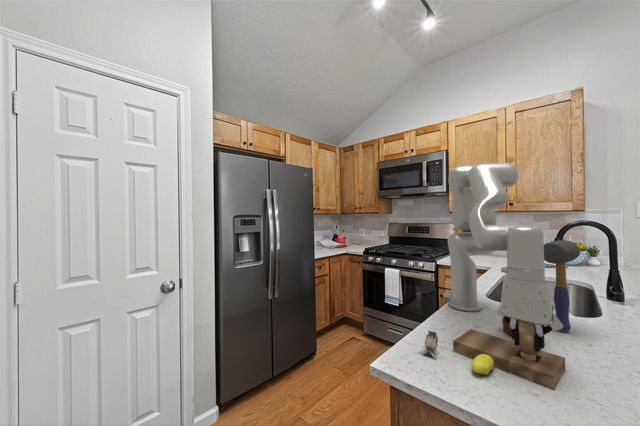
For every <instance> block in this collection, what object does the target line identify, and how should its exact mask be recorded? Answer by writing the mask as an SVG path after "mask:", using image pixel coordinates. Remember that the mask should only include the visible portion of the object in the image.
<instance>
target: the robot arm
mask: <svg viewBox="0 0 640 426" xmlns="http://www.w3.org/2000/svg"><path fill="white" fill-rule="evenodd" d="M518 180H519V171H518V169H517V167H516V166H515V164H512V163H511V162H491V163H490V162H489V163H479V164H470V165H469V164H468V165H462V166H461V165H460V166H456V167H454V168H452V169H450V171H449V173H448V181H447V182H448V185H449V189H450V192H451V196H452V206H451V207H452V208H451V210H452V211H451V214H452V215H451V219H452V220H451V221H452V226H453V227H454V229H458V230H464V231H463V232H462V231H457V232H453V233H451V234H449V235H448V237H447V246H448V251H449V259H450V260H449V261H450V283H451V288H450V289H451V293H448V292H444V291H443V295H442V297H443V298H444V299H448V301H447V305H448V306H449V307H450V308H452V309H453V310H454V309H455V310H457V311H461V312H462V311H463V312H469V313H470V312H479V311H481V310H483V306H482V304H480V303H478V285H477V284H478V281H477V279H478V278H477V266H476V265H477V264H476V263H475V262H474V261H473V259H472V258H471V257H470V256H473V255H474V256H475V255H476V256H477V255H478V256H482V255H483V256H485V255H486V256H487V255H488V256H489V255H491V254H493V253H494V252H506V264H507V265H506V266H505V267H501V268H500V271H501V273H504V274H505V275H506V276H505V277H503V280H502V285H501V295H500V306H498V307H497V309H496V310H495V314H496V315H498V317H499V316H500V318H501V319H502V318H503V319H504V320H505V321H506V322H507V323H508V324H509V325H510V328H511V329H512V336H511V339H512V340H513V342H514V344H515V345H519V329H518V320H521V321H525V322H530V323H534V324H535V326H536V331H537V332H536V334H535V336H534V339H535V351H536V352H539V351H540V350H542V349H545V335H548V334H549V333H550V332H553V331H559V330H560V329H562V328H563V325H562V323H561V322H560V320H559V319H558V318H557V316H556V312H555V310H554V308H555V307H554V303H553V301H554V300H553V297H552V291H551V287H550V284H549V281H546V278H545V277H546V276H545V274H546V272H545V260H544V244H545V243H544V232H543V229H542V228H540V227H538V226H533V225H531V226H529V225H523V224H497V215H496V212H495V211H497V210H498V209H501V208H502V207H503V206H505V205H506V204H507V202H508V200H509V195H508V192H507V191H506V189H505V188H511V187H513V186H515V185H516V184H517V182H518ZM465 230H467V231H466V232H465ZM468 230H470V231H468ZM512 340H511V341H512Z"/></svg>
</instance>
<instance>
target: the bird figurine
mask: <svg viewBox="0 0 640 426" xmlns="http://www.w3.org/2000/svg"><path fill="white" fill-rule="evenodd" d="M437 334H438V333H437V331H431V330H428V333H427V334H426V336H425V340H424V347H425V349H426V351H425V352H423V351H419V350H418V351H417V354H422V355H423V356H426V355H429V356H431V358H432V359H433V360H437V359H439V358H438V357H439V354H438V356H436V355H435V353H434V352H436V351H437V349H438V342H439V341H438V340H439V338H438V336H437Z"/></svg>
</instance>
